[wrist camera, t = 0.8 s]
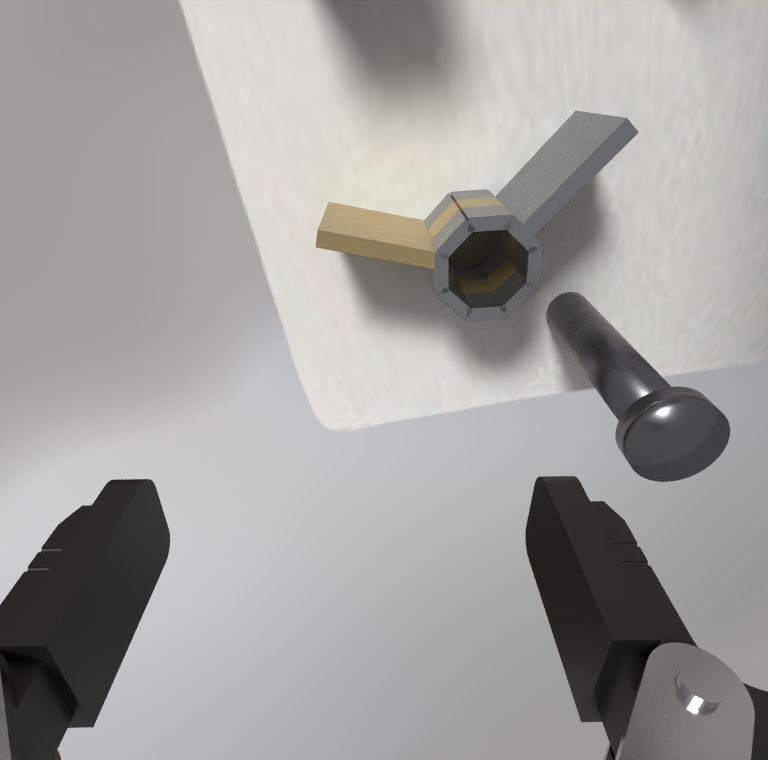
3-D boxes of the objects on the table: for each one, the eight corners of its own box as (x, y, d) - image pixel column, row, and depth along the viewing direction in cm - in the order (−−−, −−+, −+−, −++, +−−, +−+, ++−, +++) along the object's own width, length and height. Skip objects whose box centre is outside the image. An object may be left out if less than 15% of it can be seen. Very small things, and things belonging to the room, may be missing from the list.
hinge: (484, 2, 29) (515, -22, 22) (610, 151, 33) (667, 168, 26) (321, 211, 35) (308, 241, 28) (445, 316, 39) (458, 363, 32)
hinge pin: (572, 269, 37) (695, 385, 23) (611, 308, 39) (748, 439, 24) (523, 314, 39) (608, 448, 25) (562, 350, 40) (663, 495, 26)
